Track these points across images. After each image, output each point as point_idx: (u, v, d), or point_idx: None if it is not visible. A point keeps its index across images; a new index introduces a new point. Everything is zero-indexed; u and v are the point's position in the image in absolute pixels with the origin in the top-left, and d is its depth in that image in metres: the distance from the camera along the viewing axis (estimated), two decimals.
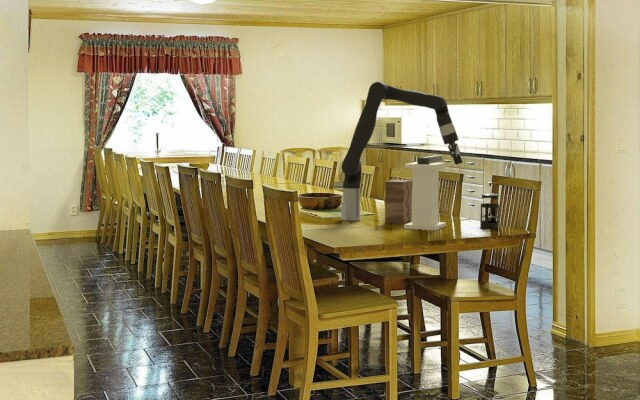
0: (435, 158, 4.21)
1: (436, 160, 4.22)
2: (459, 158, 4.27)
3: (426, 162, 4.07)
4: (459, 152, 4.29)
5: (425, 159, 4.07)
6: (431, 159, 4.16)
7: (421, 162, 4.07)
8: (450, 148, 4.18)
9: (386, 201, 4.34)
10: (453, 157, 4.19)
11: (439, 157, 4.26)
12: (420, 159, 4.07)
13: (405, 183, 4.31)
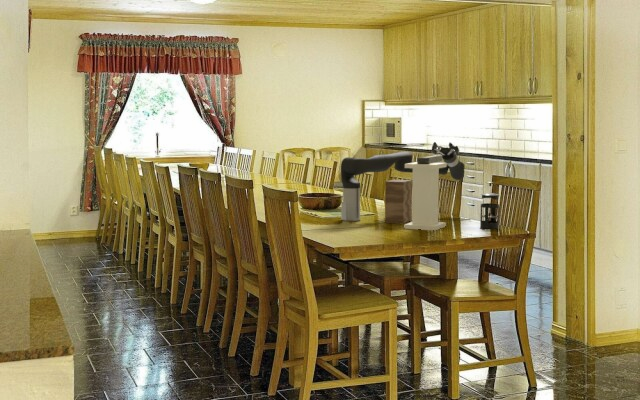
0: (435, 158, 4.21)
1: (436, 160, 4.22)
2: None
3: (426, 162, 4.07)
4: None
5: (425, 159, 4.07)
6: (431, 159, 4.16)
7: (421, 162, 4.07)
8: None
9: (386, 201, 4.34)
10: (434, 147, 4.51)
11: (439, 157, 4.26)
12: (420, 159, 4.07)
13: (405, 183, 4.31)
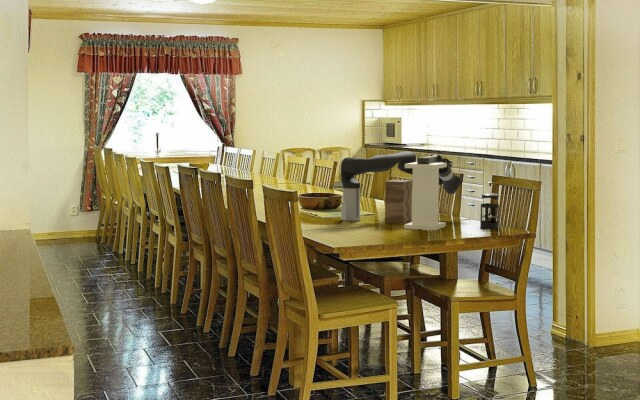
0: (435, 158, 4.21)
1: (436, 160, 4.22)
2: None
3: (426, 162, 4.07)
4: None
5: (425, 159, 4.07)
6: (431, 159, 4.16)
7: (421, 162, 4.07)
8: None
9: (386, 201, 4.34)
10: None
11: None
12: (420, 159, 4.07)
13: (405, 183, 4.31)
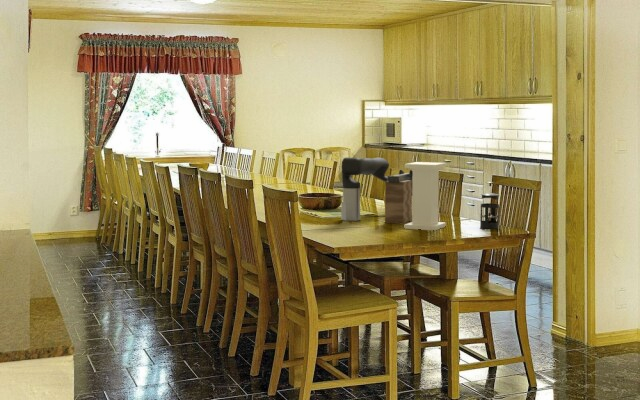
0: (406, 176, 4.41)
1: (406, 178, 4.41)
2: None
3: (396, 180, 4.26)
4: None
5: (395, 177, 4.26)
6: (401, 177, 4.35)
7: (391, 180, 4.26)
8: None
9: (386, 201, 4.34)
10: None
11: (410, 175, 4.45)
12: (390, 177, 4.27)
13: (405, 183, 4.31)
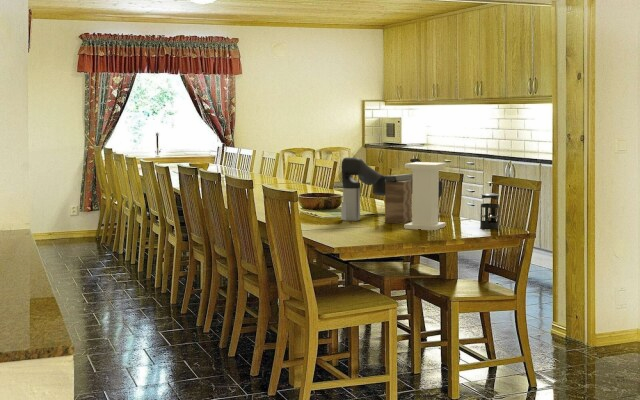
0: (409, 176, 4.40)
1: (410, 178, 4.40)
2: (412, 162, 4.51)
3: (392, 180, 4.28)
4: None
5: (391, 177, 4.28)
6: (402, 177, 4.35)
7: (387, 180, 4.28)
8: None
9: (386, 201, 4.34)
10: None
11: None
12: (386, 177, 4.29)
13: (405, 183, 4.31)
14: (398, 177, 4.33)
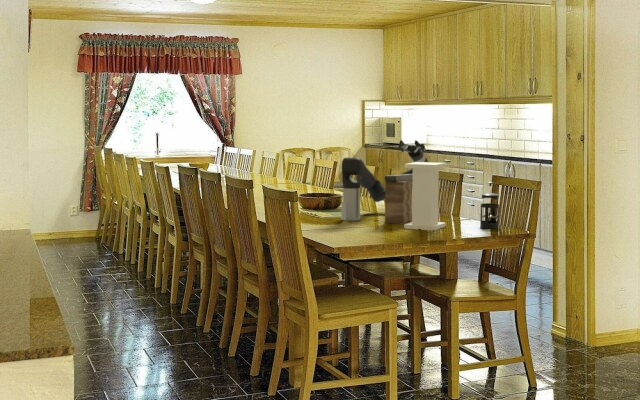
0: (410, 176, 4.39)
1: (412, 178, 4.40)
2: (402, 144, 4.59)
3: (391, 180, 4.28)
4: (400, 147, 4.62)
5: (390, 177, 4.28)
6: (402, 177, 4.35)
7: (386, 180, 4.29)
8: (424, 148, 4.59)
9: (386, 201, 4.34)
10: (419, 144, 4.56)
11: None
12: (385, 177, 4.29)
13: (405, 183, 4.31)
14: (398, 177, 4.33)
